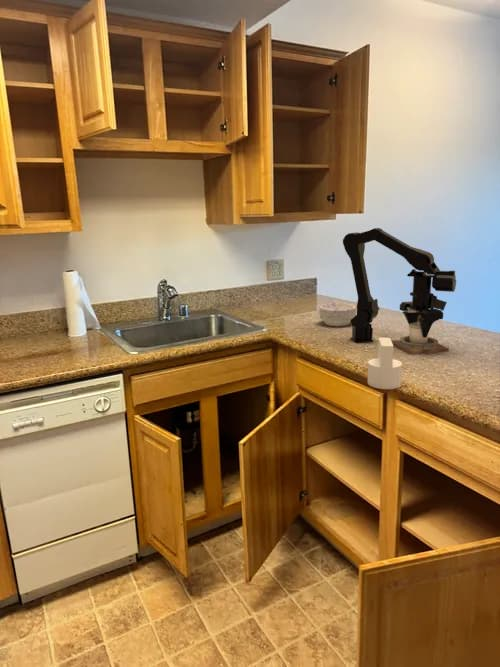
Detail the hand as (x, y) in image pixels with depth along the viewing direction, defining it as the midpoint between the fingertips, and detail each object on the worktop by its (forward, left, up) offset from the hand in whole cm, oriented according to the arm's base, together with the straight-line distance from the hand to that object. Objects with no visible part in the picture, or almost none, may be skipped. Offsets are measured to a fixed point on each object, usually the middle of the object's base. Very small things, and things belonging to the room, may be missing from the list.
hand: (419, 334), depth 164 cm
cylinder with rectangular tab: (-27, -30, -5) cm, 41 cm away
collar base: (0, 0, -4) cm, 4 cm away
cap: (0, 0, -3) cm, 3 cm away
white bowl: (-14, +42, -5) cm, 44 cm away
